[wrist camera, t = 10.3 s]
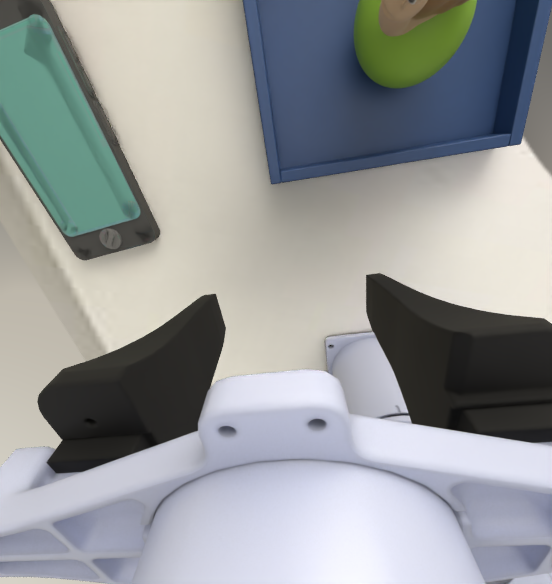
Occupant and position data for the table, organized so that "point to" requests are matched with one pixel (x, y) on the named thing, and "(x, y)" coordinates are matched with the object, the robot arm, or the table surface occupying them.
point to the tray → (386, 89)
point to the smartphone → (65, 136)
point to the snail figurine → (409, 37)
